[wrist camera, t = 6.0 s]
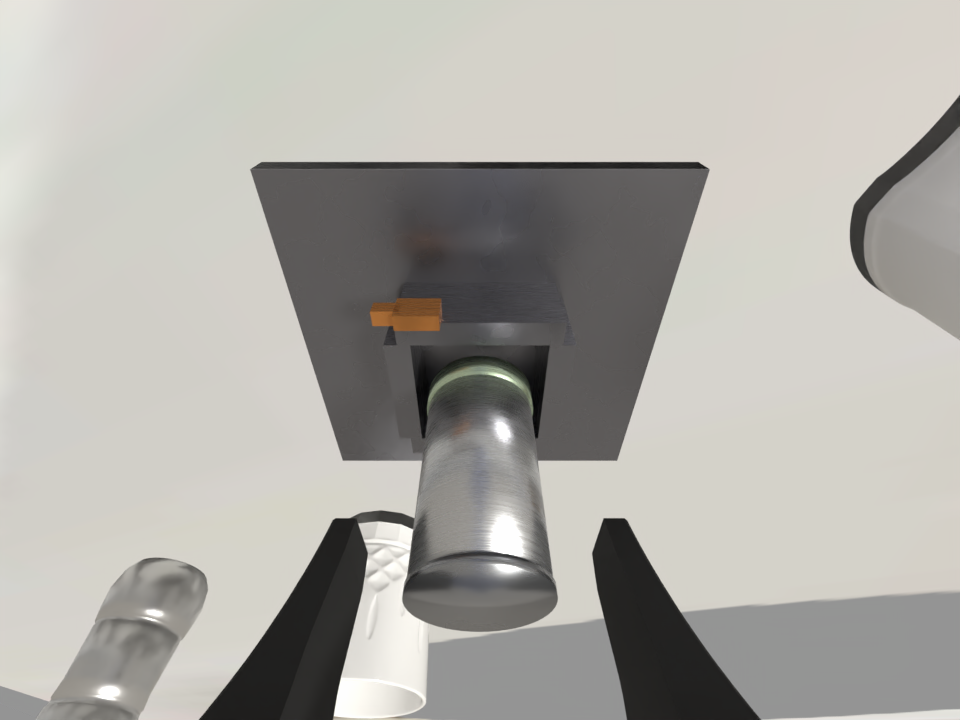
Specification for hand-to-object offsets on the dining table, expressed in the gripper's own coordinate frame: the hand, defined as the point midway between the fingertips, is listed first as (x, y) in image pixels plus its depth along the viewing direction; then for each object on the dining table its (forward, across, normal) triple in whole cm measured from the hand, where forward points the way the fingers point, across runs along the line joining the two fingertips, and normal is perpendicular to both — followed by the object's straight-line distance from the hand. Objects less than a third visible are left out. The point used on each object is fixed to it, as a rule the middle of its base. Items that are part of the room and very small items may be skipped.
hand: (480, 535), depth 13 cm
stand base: (+10, 0, 0) cm, 10 cm away
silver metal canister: (+6, 0, 0) cm, 6 cm away
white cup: (+10, -7, -18) cm, 22 cm away
